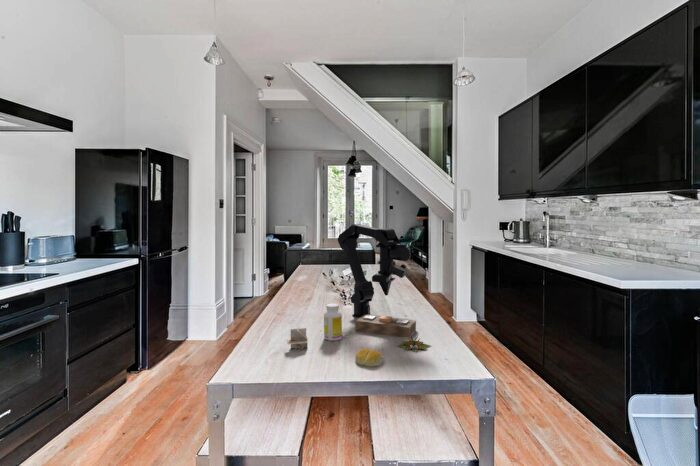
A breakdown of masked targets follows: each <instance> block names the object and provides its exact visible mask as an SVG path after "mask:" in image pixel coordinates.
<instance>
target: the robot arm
mask: <svg viewBox="0 0 700 466" xmlns="http://www.w3.org/2000/svg"><path fill="white" fill-rule="evenodd" d="M361 235H362V236H366V237H370V238H373V239H374V240H375V241H377V242H378V243H377V244H376V245H375V247H376V248H379V260H378V262H377V264H378V265H379V270H377V273H376V274H373V275H372V276H371V280H367V278H366V275H365V273H364V270H363V266H362V264H361V260H360V258H359V254H358V252H357V247H358V240H359V238H360V236H361ZM337 243H338V245H339V247H340V248H341V250H342V251H343V252H344V253H345V254H346V258H347V260H348V263H349V266H350V270H351V273H352V276H353V279H354V287H353V292H354V293H352V295H351V297H350V302H351V304H353V314H352V317H357V318H360V317H362V316H363V315H365V314H369V315H371V305H370V302H372V300H373V299H374V298H373V297H374V295H375V291H374V290H375V288H374V286H373V282H374V283H378V284H379V285H380V288H381V290H382V292H383V293H384V294H383V295H384V296H389V292H390V288H391V285H392V283H393V281H395V280H396V277H398V278H401V279H403V278H405V276H406V275H407V273H408V268H407V265H406V264H404V263H402V264H401V265H397V264H396V261H399V262H400V261H401V262H406V261H408V260H409V259H410V257H411V256H410V255H411V253H410V252H411V251H410V249H409V248H408V247H407V244H406V243H401V241H400V239H399V238H398V236H397V234H396V231H395V229H393V228H376V227H373V226H368V225H363V224H361V223H355V224H354V223H353V224H351V225H350V226H349V227H348V228H346V229H345V230H343V231H342V232H341V233H340V234H339V235H338V237H337ZM392 275H393V276H396V277H393V276H392Z"/></svg>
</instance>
